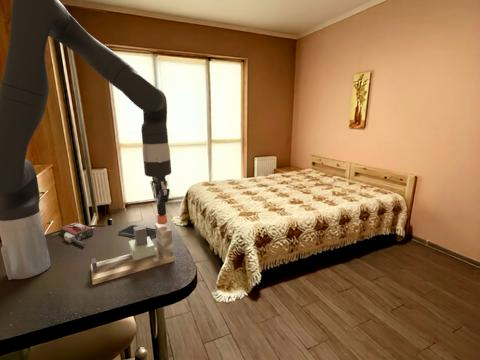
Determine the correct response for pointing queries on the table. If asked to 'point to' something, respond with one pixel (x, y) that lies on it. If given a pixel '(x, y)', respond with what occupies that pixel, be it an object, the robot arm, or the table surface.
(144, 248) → the block
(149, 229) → the phone
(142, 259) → the rail base
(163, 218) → the button
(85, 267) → the table surface
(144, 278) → the table surface
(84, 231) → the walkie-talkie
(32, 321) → the table surface
